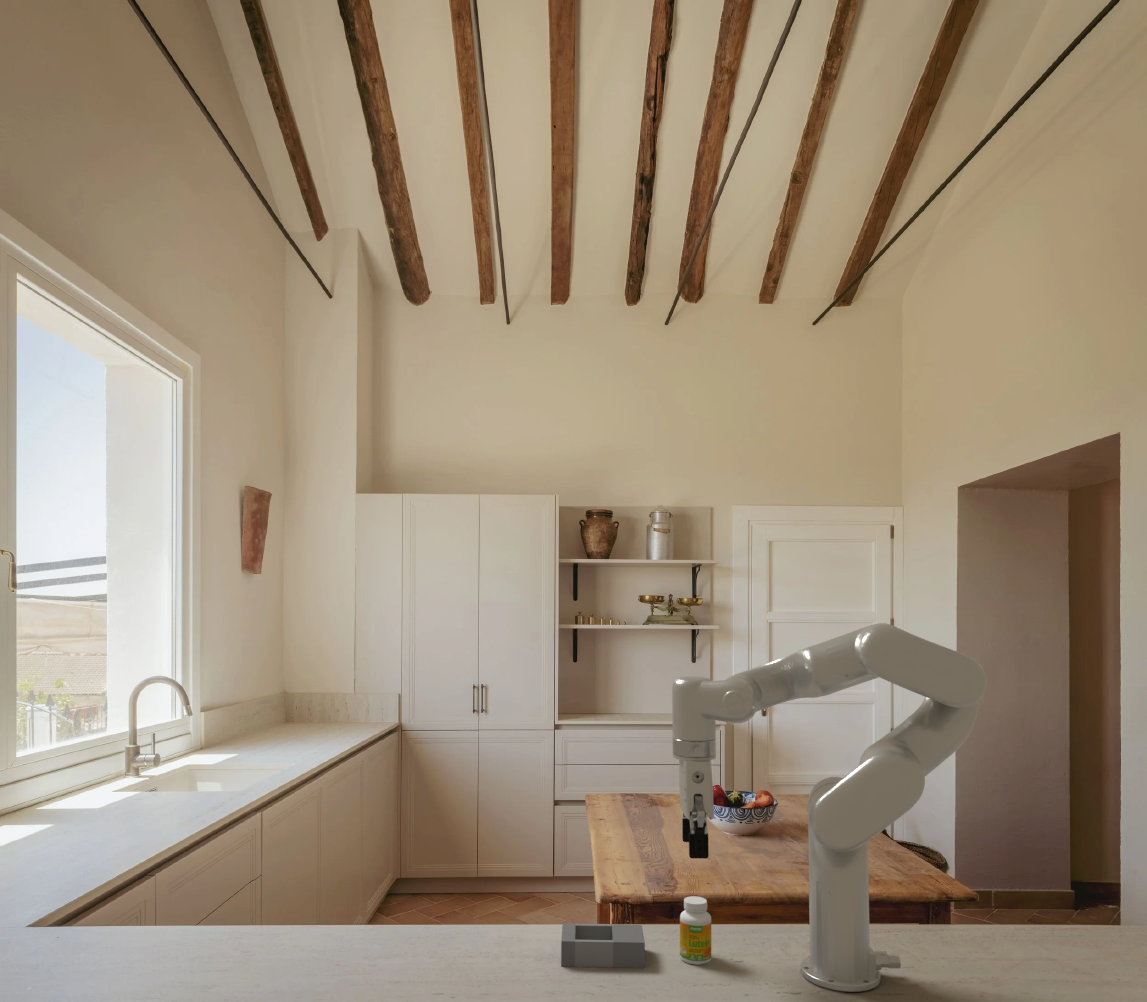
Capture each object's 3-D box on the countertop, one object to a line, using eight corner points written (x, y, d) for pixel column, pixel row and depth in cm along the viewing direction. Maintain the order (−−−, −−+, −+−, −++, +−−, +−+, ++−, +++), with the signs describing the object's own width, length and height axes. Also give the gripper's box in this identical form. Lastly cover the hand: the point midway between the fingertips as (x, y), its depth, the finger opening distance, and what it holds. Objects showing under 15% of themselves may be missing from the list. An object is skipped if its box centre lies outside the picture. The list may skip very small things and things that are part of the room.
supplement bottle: (687, 966, 149) (687, 906, 150) (675, 954, 154) (675, 896, 155) (716, 963, 151) (716, 904, 152) (703, 951, 156) (703, 893, 157)
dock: (641, 948, 157) (641, 924, 157) (644, 967, 149) (644, 942, 149) (562, 947, 157) (562, 923, 157) (561, 966, 149) (561, 941, 149)
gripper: (723, 757, 147) (724, 864, 146) (708, 740, 165) (709, 836, 163) (678, 757, 148) (678, 864, 146) (667, 740, 165) (668, 835, 163)
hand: (695, 849), depth 154 cm, fingers open, 9 cm apart
